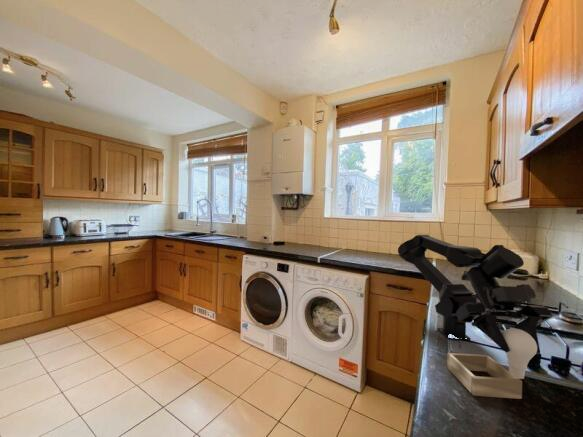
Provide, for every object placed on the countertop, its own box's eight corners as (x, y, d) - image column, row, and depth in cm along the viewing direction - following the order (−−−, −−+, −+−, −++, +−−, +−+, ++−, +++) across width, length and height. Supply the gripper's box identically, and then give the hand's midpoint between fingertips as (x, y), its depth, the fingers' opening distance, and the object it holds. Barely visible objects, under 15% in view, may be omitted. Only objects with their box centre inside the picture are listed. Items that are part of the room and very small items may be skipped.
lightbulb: (498, 366, 59) (500, 321, 59) (533, 377, 55) (535, 329, 55) (498, 378, 54) (501, 329, 54) (537, 392, 50) (540, 339, 50)
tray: (446, 367, 58) (447, 352, 58) (487, 369, 57) (487, 355, 57) (473, 395, 49) (473, 378, 49) (521, 398, 48) (522, 381, 48)
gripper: (464, 269, 59) (499, 336, 48) (546, 272, 58) (601, 342, 47) (445, 291, 67) (471, 354, 56) (516, 295, 65) (557, 359, 54)
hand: (522, 352), depth 53 cm, fingers closed on lightbulb, 6 cm apart
